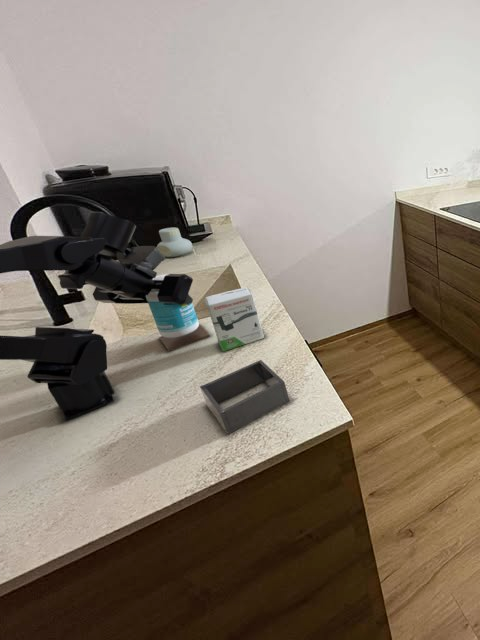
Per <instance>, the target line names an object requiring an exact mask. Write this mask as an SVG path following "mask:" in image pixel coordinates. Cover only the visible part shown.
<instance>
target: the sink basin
mask: <svg viewBox="0 0 480 640" xmlns="http://www.w3.org/2000/svg"><path fill="white" fill-rule="evenodd" d="M264 382H265V383H266V384H267V385H268V387H265V388H264V389H261V390H260V391H258V392H256V393H254V394H252V395H250V396H248V397H246V398H244V399H241V400H240V401H237V402H236V403H234V404H231V405H230V406H228V407H225V408H222V407H221V406H220V403H222V402H223V401H227V400H228V399H230V398H233V397H234V396H237V395H238V394H241V393H242V392H245V391H247V390H248V389H250V388H253V387H255V386H257V385H259V384H261V383H264ZM285 382H286V381H284V380H283V378H281V377H280V376H279V375H278V374H277V373H276V372H275V371H273V370H272V368H271V367H269V366H268V365H267V364H266V363H265V362H264V361H263V360H261V359H260V360H257V361H256V362H253V363H251V364H248V365H246V366H243V367H241V368H239V369H237V370H234V371H232V372H230V373H227V374H226V375H223V376H221V377H218V378H216V379H214V380H212V381H210V382H208V383H205V384H203V385H200V386H199V388H200V391H201V393H202V396H203V398H204V402H205V403H206V406H207V408H208V409H209V411H210V412H211V414H212V415H213V416H214V417H215V419H216V420H217V422H218V423H219V424H220V426H221V428H222V429H223V430H224V432H225V433H226V434H227V435H230V434H232V433H233V432H235V431H237V430H239V429H241V428H243V427H244V426H246V425H248V424H250V423H252V422H254V421H255V420H257V419H259V418H261V417H263V416H264V415H267V414H268V413H270V412H272V411H274V410H276V409H278V408H279V407H282V406H283V405H285V404H287V403H289V402H290V397H289V393H288V390H287V385H286V383H285Z"/></svg>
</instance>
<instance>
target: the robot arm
mask: <svg viewBox="0 0 480 640" xmlns="http://www.w3.org/2000/svg"><path fill="white" fill-rule="evenodd" d="M136 228H137V225H136V223H134V222H132V221H131V220H129V219H124V218H121V217H118V216H115V215H111V214H110V215H109V214H107V213H105V212H103V211H91V212H90V214H89V217H88V220H87V223H86V225H85V227H84V229H83V231H82V233H81V235H80V236H72V235H71V236H69V235H29V236H25V237H21V238H18V239H17V238H16V239H12V240H8V241H5V242H3V243H1V244H0V274H5V273H12V272H43V271H45V272H46V271H47V272H49V271H64V272H63V273H62V274H58V275H57V278H58V279H59V285H60V288H61V289H68V290H81V289H82V290H83V288H84V286H85V284H86V285H90V286H93V287H95V288H94V290H93V292H92V296H93V299H94V300H95V301H97V302H100V303H102V304H118V305H131V304H133V305H134V304H148V302H147V299H146V296H148V294H149V293H150V291H154V292H158V295H157V297H158V300H159V302H162V303H164V305H182V304H191V303H192V304H193V300H194V298H193V297H192V296H191V295H190V290H191V287H192V284H193V282H194V279H193V277H192V276H189V274H186V273H167V274H168V275H166V276H165V277H164V279H163V280H152V279H153V278H155V277H156V276H158V275H157V274H158V272H157V271H154V270H155V269H156V268H157V267H158V266H159V265H160V264H161V263H162V262H164V261H165V260H166V256H164V255H163V254H162V253H161V252H160V251H159V250H158V249H157V248H156V247H157V246H154V245H138V246H132V247H131V248H130V247H128V246H129V245H130V243H131V240H132V237H133V235H134V233H135V230H136ZM111 257H116V259H117V260H116V259H113V258H111ZM188 293H189V294H188ZM34 331H35V332H34V334H32V335H26V336H17V335H0V361H24V362H29V363H32V365H31V368H30V370H29V371H28V374H27V375H26V376H27V378H28V379H29V380H31V381H33V382H34V383H35V384H47V389H48V392H49V393H50V394H51V396H52V398H53V400H54V401H55V403H56V404H57V406H58V407H59V409H60V411H61V414H62V418H63V421H65V422H67V421H69V420H72V419H74V418H77V417H79V416H82V415H84V414H87V413H90V412H92V411H94V410H97V409H99V408H102V407H104V406H106V405H109V404H112V403H113V402H115V398H114V396H113V395H114V394H115V389H114V388H113V385H112V383H111V381H110V379H109V377H108V375H107V373H106V371H107V370H108V357H107V356H108V355H107V353H108V352H107V349H108V348H107V346H108V345H107V342H106V340H105V338H104V336H103V335H101V334H99V333H94V332H95V329H91V328H90V329H87V328H86V329H85V328H69V327H53V326H52V327H51V326H50V327H49V326H48V327H47V326H35V330H34Z"/></svg>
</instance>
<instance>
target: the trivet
mask: <svg viewBox="0 0 480 640" xmlns="http://www.w3.org/2000/svg"><path fill="white" fill-rule="evenodd" d="M210 336H211V335H210V333H208V331H207V330H206V329H205V328H204V327H203V326H202V325H201V324H200V323H199V326H198V328H197V329H196V330H194V331H193V332H191V333H189V334H186V335H183V336H179V337H173V338H166V337H163V336H161V335H160V336H159V339H160V341H161V343H162V344H163V345H164V346H165V348H166V350H167V351H168V352H172V351H174V350H176V349H180V348H182V347H185V346H187V345H190V344H193V343H196V342H199V341H202V340H204V339H207V338H210Z"/></svg>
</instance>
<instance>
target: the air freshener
mask: <svg viewBox="0 0 480 640" xmlns="http://www.w3.org/2000/svg"><path fill="white" fill-rule="evenodd" d="M158 234H159V236H160V239H161V241H159V243H158V244H157V246H155V247H156V248H157V249H158V250H159V251H160V252H161V253H162V254H163V255H164V257H165V258H166V257H167V258H177V257H181V256H184V255H187V254H188V253H189V252H191V251H192V250H193V243H192V241H190V240H189V239H187V238H183V237H182V235H181V232H180V229H179V228H178V227H166V228H162V229H159V230H158Z"/></svg>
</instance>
